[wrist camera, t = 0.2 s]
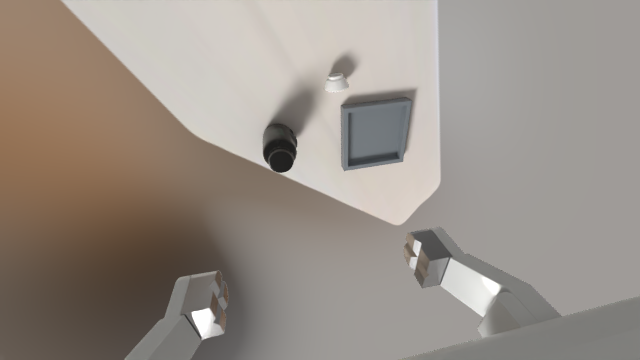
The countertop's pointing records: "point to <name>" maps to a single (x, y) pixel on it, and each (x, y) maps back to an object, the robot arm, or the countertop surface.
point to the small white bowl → (336, 83)
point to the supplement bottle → (279, 148)
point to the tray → (374, 133)
